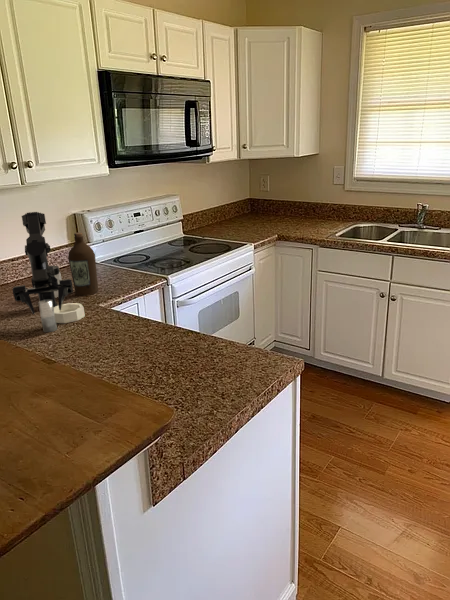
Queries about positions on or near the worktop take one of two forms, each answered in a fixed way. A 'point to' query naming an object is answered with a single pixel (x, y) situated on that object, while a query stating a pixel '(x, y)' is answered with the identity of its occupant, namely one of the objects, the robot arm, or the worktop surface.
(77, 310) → the bowl
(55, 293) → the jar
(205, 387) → the worktop surface
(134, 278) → the worktop surface
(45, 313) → the canister
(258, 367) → the worktop surface
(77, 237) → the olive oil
